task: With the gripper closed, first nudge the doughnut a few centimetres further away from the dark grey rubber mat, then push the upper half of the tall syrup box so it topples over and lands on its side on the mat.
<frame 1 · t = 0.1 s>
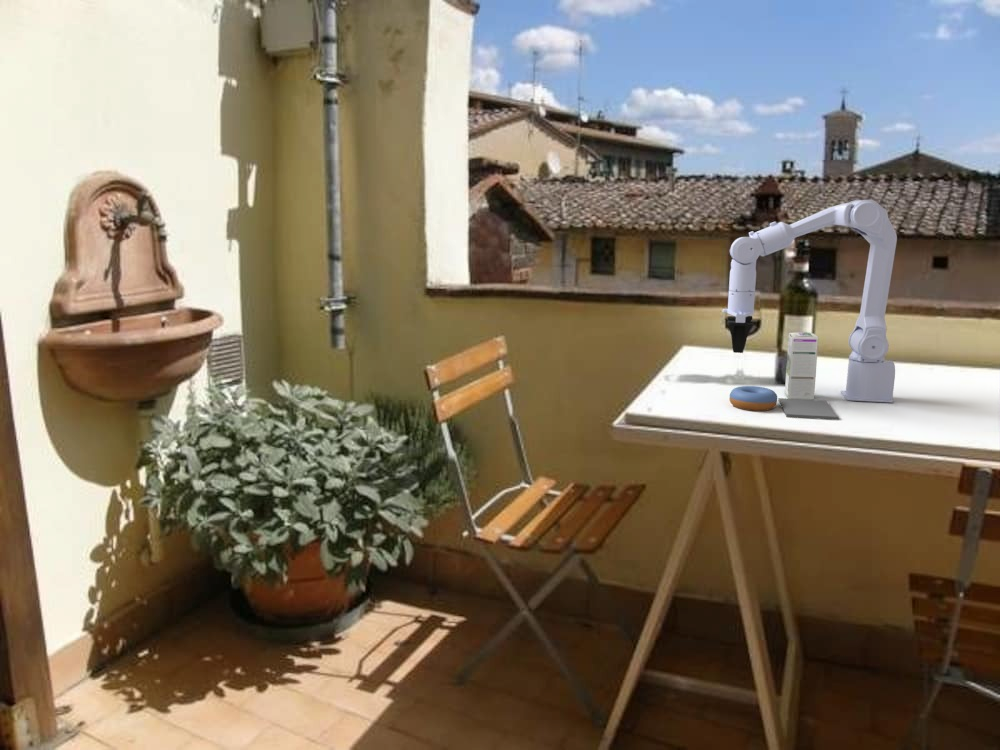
hand: (737, 349, 181), 10 cm above the table, tool pointing down, fingers open, 7 cm apart
mat: (806, 409, 168), on the table
doughnut: (752, 407, 171), on the table
syrup box: (798, 397, 179), on the table
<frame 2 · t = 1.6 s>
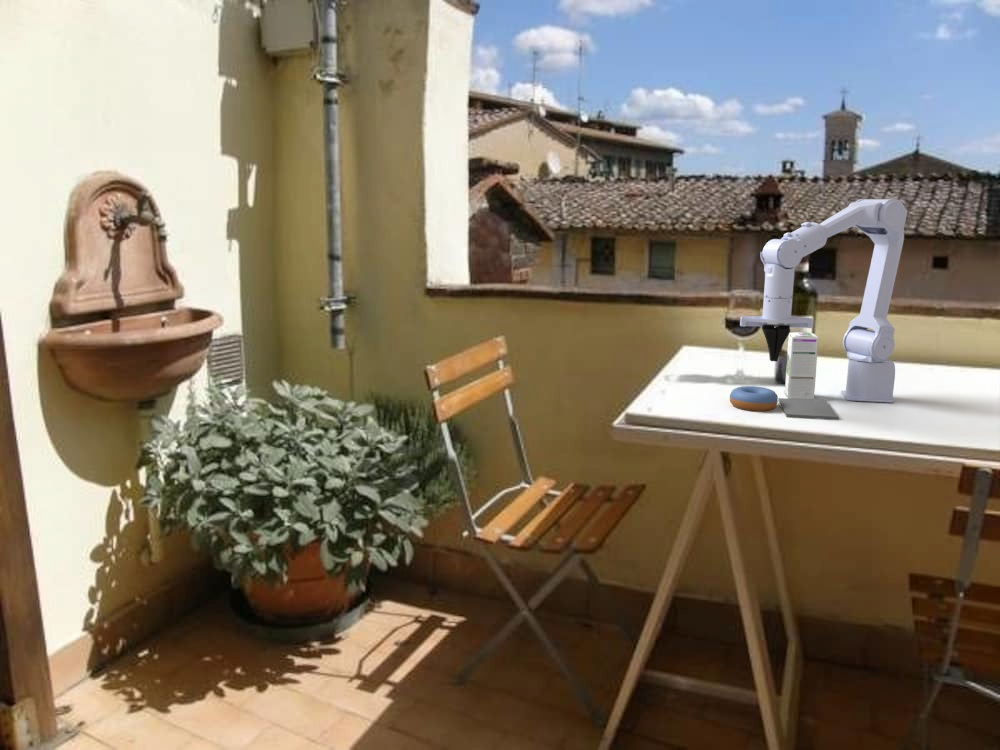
hand: (773, 360, 168), 10 cm above the table, tool pointing down, fingers closed
nothing on the table moved.
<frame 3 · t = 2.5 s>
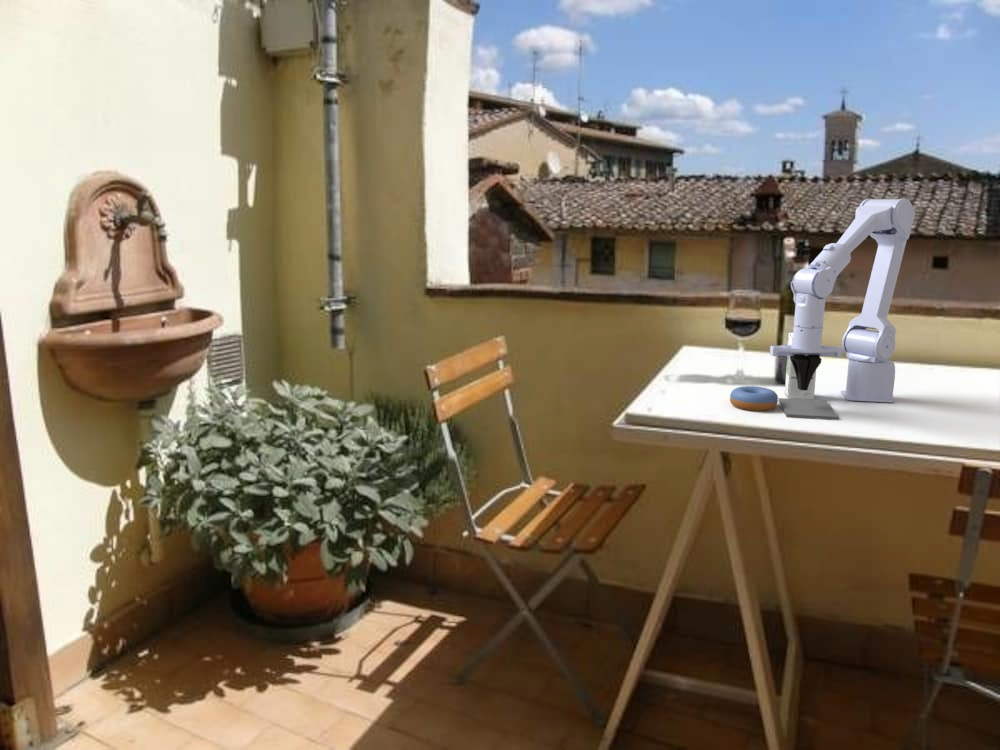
hand: (802, 389, 168), 4 cm above the table, tool pointing down, fingers closed
nothing on the table moved.
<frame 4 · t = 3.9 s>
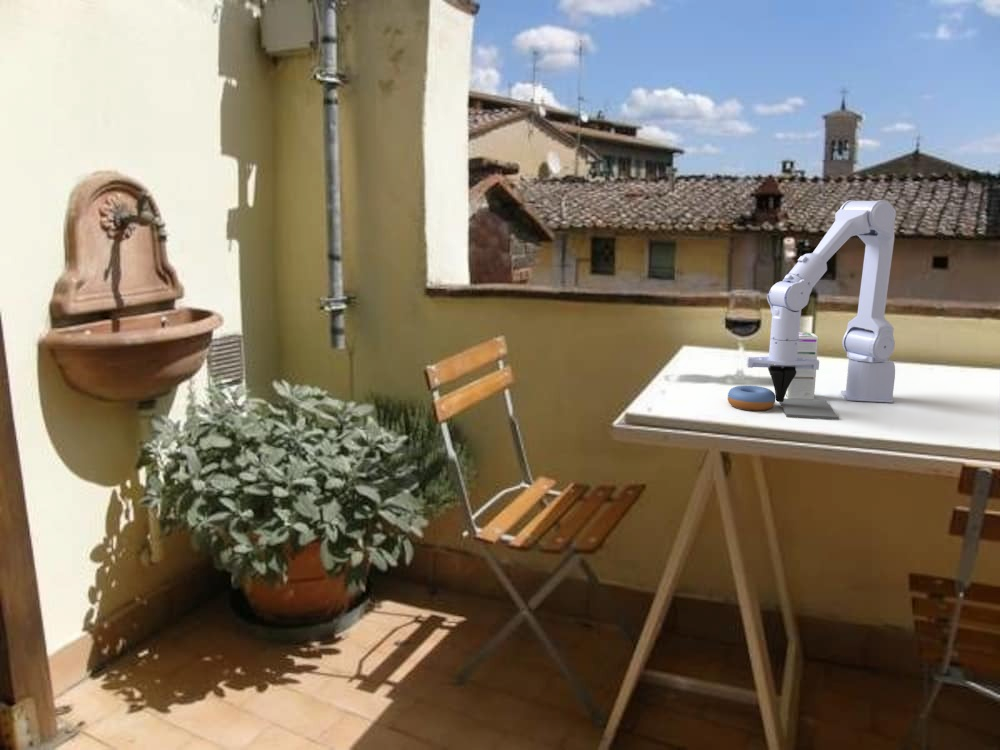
hand: (779, 400, 170), 1 cm above the table, tool pointing down, fingers closed
doughnut: (750, 407, 171), on the table, touching gripper
everything else where it was.
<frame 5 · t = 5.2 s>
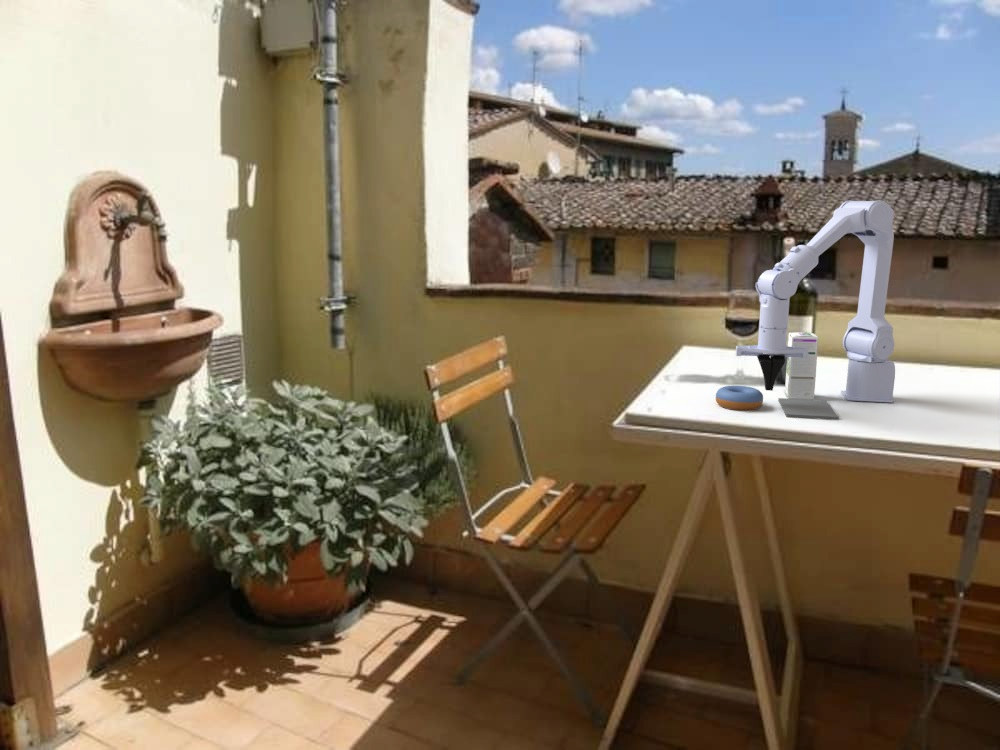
hand: (768, 389, 170), 4 cm above the table, tool pointing down, fingers closed
doughnut: (738, 407, 171), on the table
everything else where it was.
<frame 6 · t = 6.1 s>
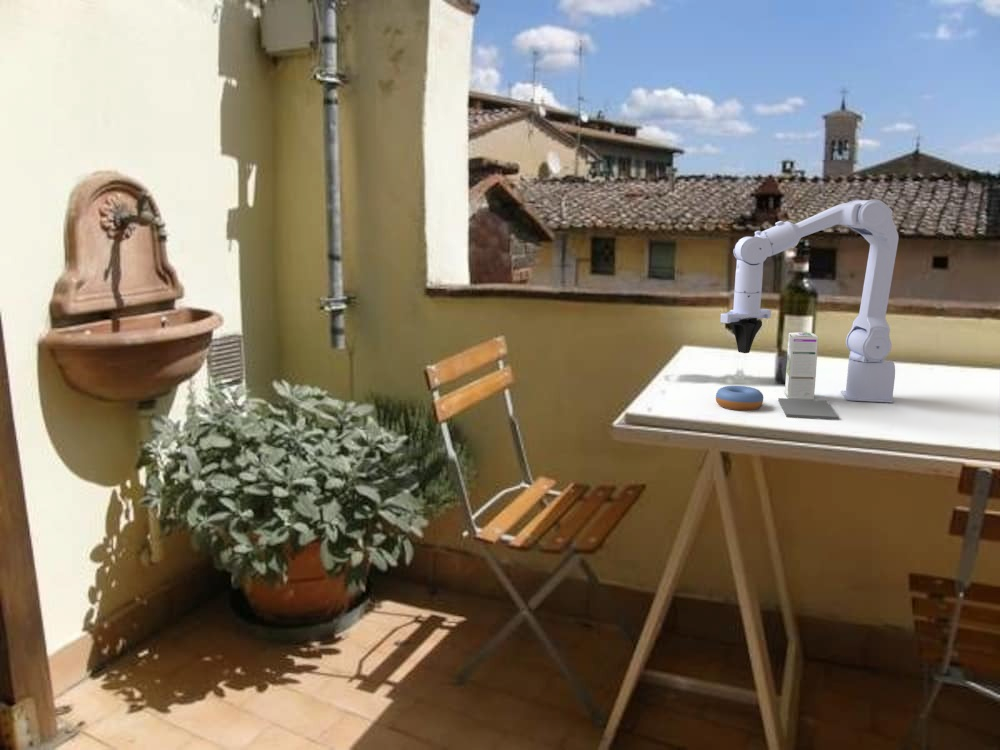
hand: (743, 352, 176), 10 cm above the table, tool pointing down, fingers closed
nothing on the table moved.
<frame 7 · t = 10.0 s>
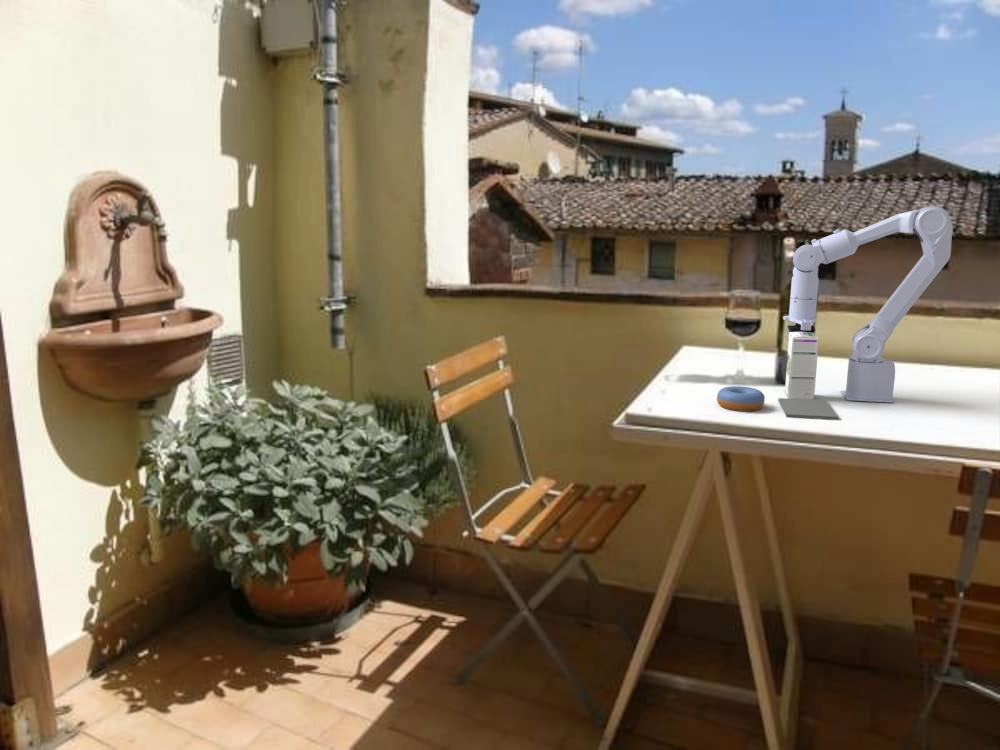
hand: (798, 356, 182), 8 cm above the table, tool pointing down, fingers closed
syrup box: (798, 397, 179), on the table, touching gripper
everything else where it was.
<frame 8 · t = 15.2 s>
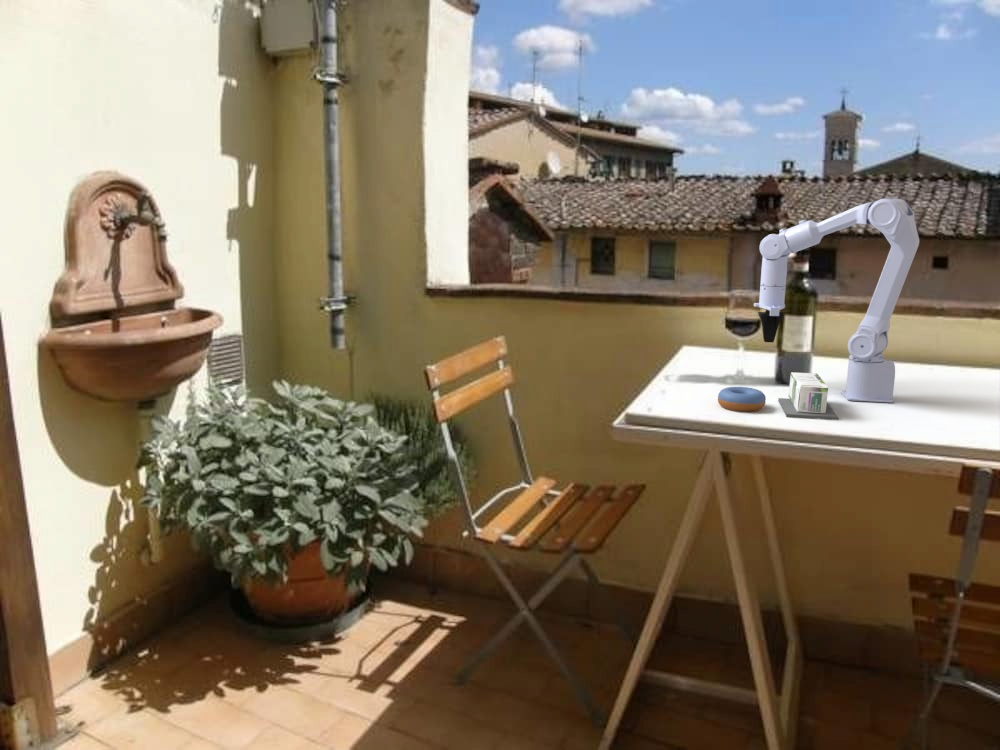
hand: (768, 341, 190), 10 cm above the table, tool pointing down, fingers closed
syrup box: (801, 384, 176), point 3 cm above the table, touching mat
at the end: syrup box tilted 90°; syrup box inside the target area (8.5 cm from its centre), point 3.4 cm above the table; doughnut inside the target area (5.9 cm from its centre), on the table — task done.
